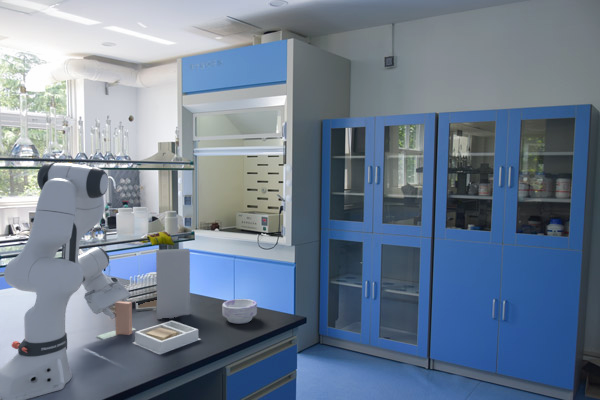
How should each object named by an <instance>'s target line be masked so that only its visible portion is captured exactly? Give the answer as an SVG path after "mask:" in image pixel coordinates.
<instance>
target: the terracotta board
mask: <svg viewBox="0 0 600 400" xmlns="http://www.w3.org/2000/svg"><path fill="white" fill-rule="evenodd" d="M114 307H115V308H114V310H115V311H114V312H115V314H116V315H117V316H116V317H115V318H114V319H115V330H116V336H119V335H127V336H130V335H132V334H133V330H132V328H133V302H131V301H128V302H122V301H118V302H115V306H114Z"/></svg>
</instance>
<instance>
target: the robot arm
mask: <svg viewBox="0 0 600 400" xmlns="http://www.w3.org/2000/svg"><path fill="white" fill-rule="evenodd" d="M36 178H37V179H36V182H37V185H38V187H39V188H40V189H39V190H41V191H40V194H39V196H38V200H37V203H36V208H35V213H34V219H33V223H32V226H31V231H30V234H29V237H28V239H27V241H26V243H25V245H24V246H23V248H22V250H20V253H18V254H17V256H16V257H14V258H13V259H11V260H10V261H9V262H8V263H7V264H6V265H5V268H4V273H3V277H4V281H5V282H6V283H7V285H9V286H10V287H12V288H15V289H17V290H19V291H23V292H29V293H35V295H36V298H35V303H34V304H33V306H32V307H30V308H29V309H27V311H26V312H25V314H24V317H23V320H24V325H23V327H24V338H23V340H22V341H18V340H15V341H13V342H12V343H11V347H12V348H13V349H15V350H17V353H16V354H15V355H14V356H13V357H12V358H11V359H10V360H9V361H8V362H7V363H5V365H3V366H1V368H0V400H29V399H33V398H36V397H39V396H43V395H46V394H50V393H54V392H57V391H61V390H63V389H64V388H65V386H66V384H67V383H68V382H69V381H70V380H71V379H72V377H73V374H72V372H71V369H70V365H69V361H68V360H69V359H68V354H67V350H68V334H67V332H66V312H67V308H68V307H67V306H68V303H69V300H70V299H71V297H72V296H73V295H74V293H76V292H78V290H79V289H80V288H81V286H83V288H84V290H85V292H86V293H84V296H83V297H84V300H85V301H86V304H87V305H88V307H89V308H90V310H91V311H92V313H93V314H96V315H98V314H99V315H100V314H102V313H103V314H104V315H105V316H109V317H110V319H112V320H113V319H115V317H116V316H117V315H116V314H115V311H111V310H110V309H112V308H114V307H115V302H118V301H122V302H129V301H128V299H129V298H130V297H131V293H130V292H129V290H128V289H127V288H126V287H125V286H124V284H122V283H121V282H120V280H119V278H118V277H111V276H106V274H104V273H103V270H105V269H106V268H108V267H109V263H110V255H109V254H108V253H107V252H106V250H105V249H103V248H101V247H100V246H99V247H98V246H95V247H91V248H90V249H87V250H85V251H84V252H83V253H81V254H80V255H79V252H80V242H81V240H82V239H83V237H84V236H85V235H86V234H87V233H88V232H89V231H90V230H91V229H93V228H94V227H95V226H97V225H98V224H99V222H101V220H102V219H103V218H104V215H105V214H104V213H105V203H104V195H106V193H107V191H108V188H109V176H108V173H107V172H106V171H105V170H104V169H103V168H100V167H96V166H92V167H91V166H87V165H82V164H77V163H70V162H69V163H68V162H67V163H66V162H64V163H63V162H56V161H54V162H46V163H44V164H42V166H41V167H40V168H39V170H38V172H37V175H36ZM60 248H61V258H58V257H56V255H57V253H58V252H59V250H60Z"/></svg>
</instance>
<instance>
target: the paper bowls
mask: <svg viewBox="0 0 600 400" xmlns="http://www.w3.org/2000/svg"><path fill="white" fill-rule="evenodd" d="M221 306H222V307H221V308H222V312H221V313H222V317H224V318H227V321H228V322H229V323H232V324H238V325H240V324H241V325H242V324H247V323H249V322H250V321H252V320H253V318H254V317H255V316H257V313H258V303H257V301H255V300H253V299H249V298H237V299H236V298H234V299H229V300H227V301H224V302H223V303H222V305H221Z"/></svg>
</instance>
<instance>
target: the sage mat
mask: <svg viewBox="0 0 600 400" xmlns="http://www.w3.org/2000/svg"><path fill="white" fill-rule="evenodd" d="M136 330H137V329H136V328H134V327H132V331H136ZM116 336H117V335H116V329H115V330H112V331H108V332H105V333H102V334H98V335H96V338H98V339H101V340H102V339H103V340H106V339H109V338H112V337H113V338H114V337H116Z"/></svg>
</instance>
